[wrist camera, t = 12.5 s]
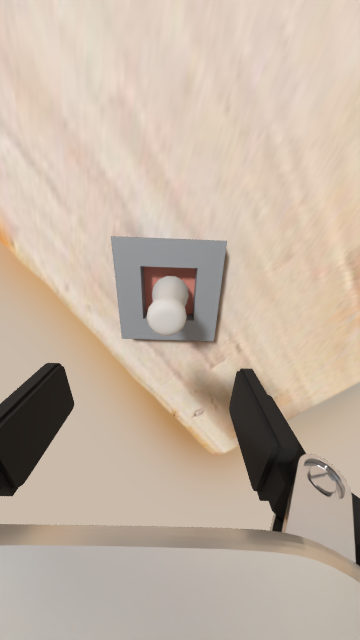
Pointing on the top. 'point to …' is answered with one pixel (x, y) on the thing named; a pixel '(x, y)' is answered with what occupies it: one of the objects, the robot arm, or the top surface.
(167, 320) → the white bulbous peg
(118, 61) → the top surface
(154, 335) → the socket board
